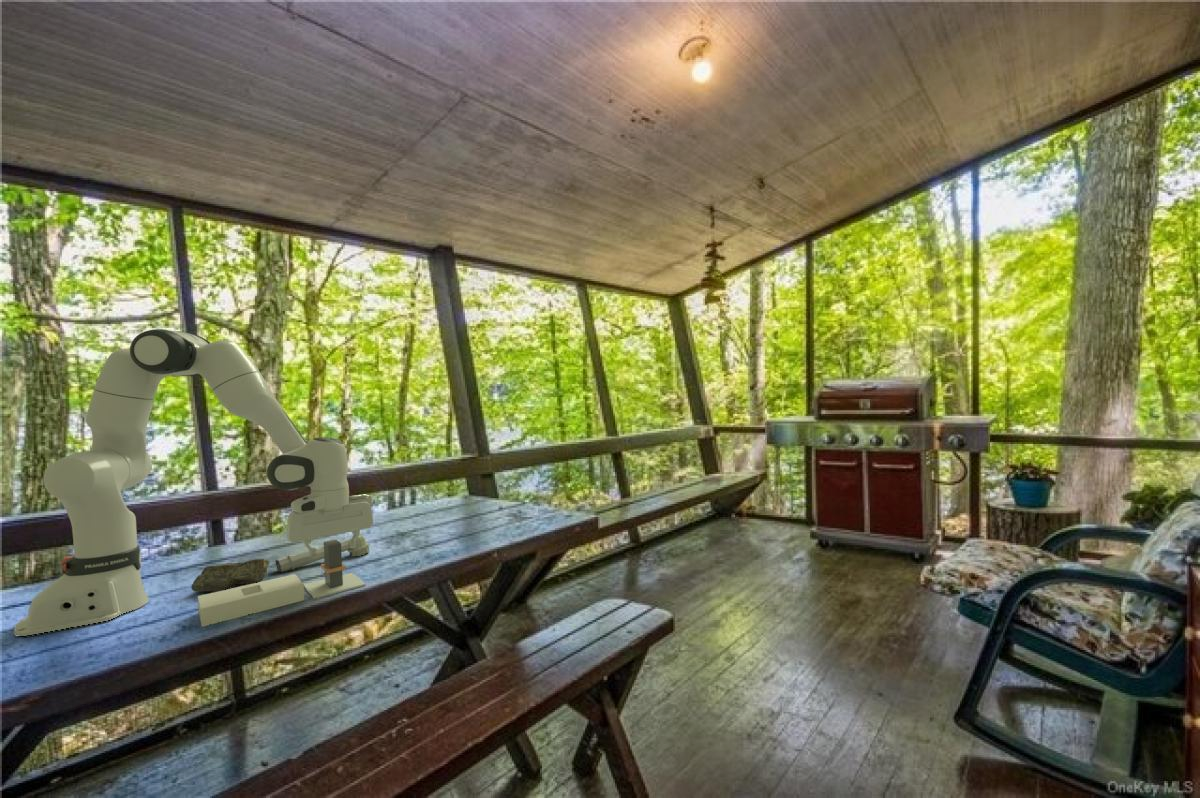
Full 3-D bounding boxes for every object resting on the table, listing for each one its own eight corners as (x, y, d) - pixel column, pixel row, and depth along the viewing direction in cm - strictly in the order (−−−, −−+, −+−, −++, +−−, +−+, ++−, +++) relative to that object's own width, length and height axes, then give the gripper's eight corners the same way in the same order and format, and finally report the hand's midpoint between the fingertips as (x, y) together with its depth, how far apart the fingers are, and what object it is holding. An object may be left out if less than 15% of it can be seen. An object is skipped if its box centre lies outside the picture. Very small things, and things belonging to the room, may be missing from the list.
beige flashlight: (274, 557, 150) (363, 528, 166) (278, 579, 151) (367, 548, 167) (277, 561, 146) (368, 532, 162) (281, 584, 147) (372, 552, 163)
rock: (267, 556, 149) (271, 555, 141) (268, 581, 147) (272, 581, 140) (191, 569, 138) (191, 568, 131) (191, 595, 137) (191, 596, 129)
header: (201, 626, 114) (200, 608, 114) (198, 613, 121) (197, 596, 121) (304, 600, 127) (303, 584, 127) (295, 589, 135) (295, 574, 134)
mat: (314, 599, 128) (314, 597, 128) (303, 586, 137) (303, 584, 137) (365, 585, 135) (365, 583, 135) (352, 574, 144) (352, 572, 144)
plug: (328, 589, 132) (326, 546, 132) (321, 583, 137) (319, 541, 137) (346, 585, 135) (344, 543, 135) (339, 578, 140) (338, 538, 140)
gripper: (368, 491, 145) (370, 540, 145) (283, 503, 131) (286, 558, 132) (375, 494, 140) (377, 545, 140) (288, 507, 127) (291, 563, 127)
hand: (332, 551), depth 136 cm, fingers open, 8 cm apart
